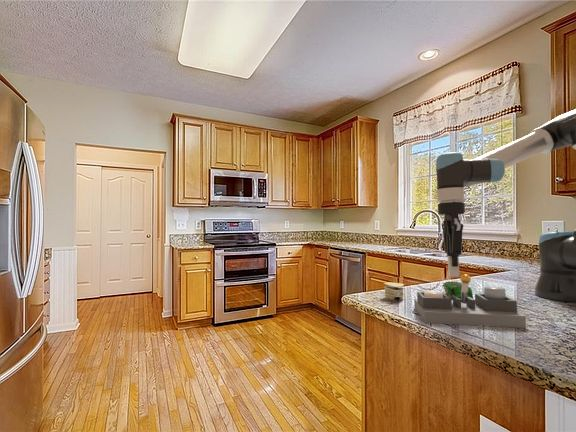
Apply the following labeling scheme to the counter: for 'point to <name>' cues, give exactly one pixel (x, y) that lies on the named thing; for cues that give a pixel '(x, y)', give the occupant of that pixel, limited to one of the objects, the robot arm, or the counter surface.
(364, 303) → the counter surface
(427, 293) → the white button
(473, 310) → the control panel
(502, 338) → the counter surface
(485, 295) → the grey blue button
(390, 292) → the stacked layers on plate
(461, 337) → the counter surface
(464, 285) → the toggle lever
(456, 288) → the snack package
